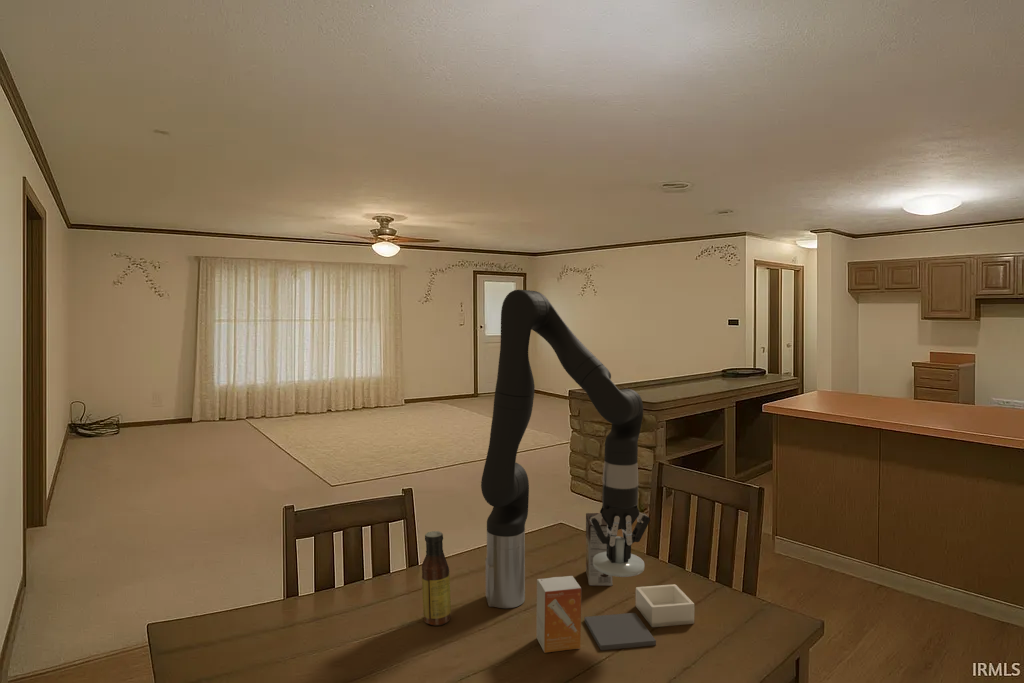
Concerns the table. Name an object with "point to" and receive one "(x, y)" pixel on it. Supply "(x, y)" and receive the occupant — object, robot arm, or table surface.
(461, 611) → the table surface
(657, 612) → the open square container
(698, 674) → the table surface
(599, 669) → the table surface
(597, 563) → the lid
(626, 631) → the mat
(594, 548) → the coffee box
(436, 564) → the sauce bottle
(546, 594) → the small box
